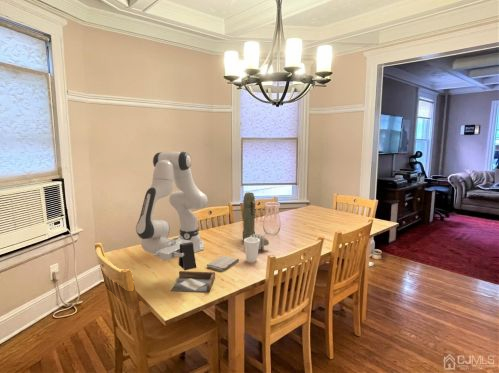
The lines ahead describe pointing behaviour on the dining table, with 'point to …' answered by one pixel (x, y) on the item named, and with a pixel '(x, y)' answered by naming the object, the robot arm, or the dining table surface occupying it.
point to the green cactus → (248, 215)
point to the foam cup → (251, 248)
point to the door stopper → (187, 256)
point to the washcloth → (222, 263)
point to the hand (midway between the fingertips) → (188, 252)
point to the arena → (194, 281)
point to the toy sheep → (261, 241)
